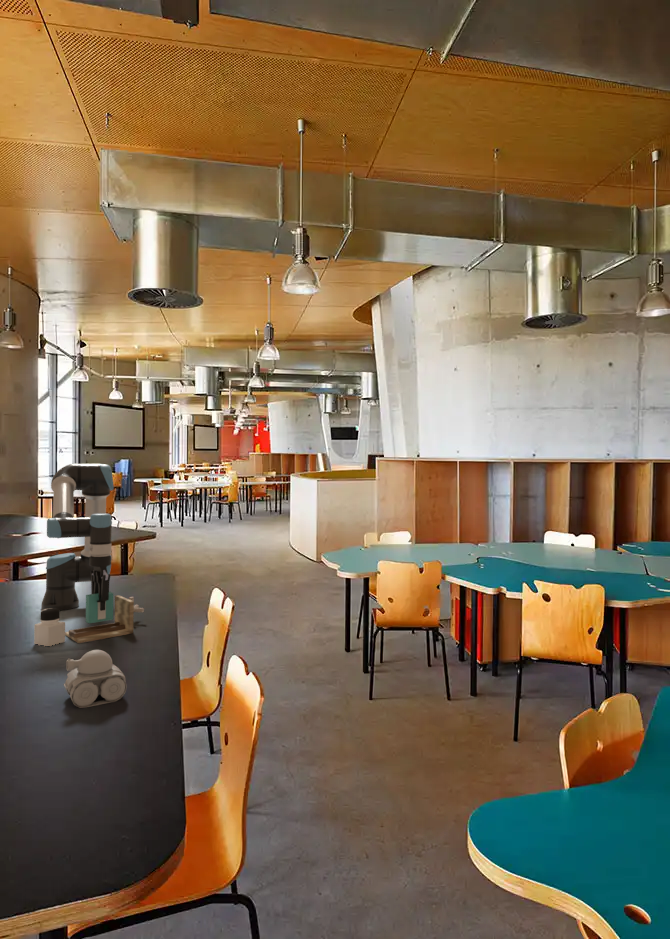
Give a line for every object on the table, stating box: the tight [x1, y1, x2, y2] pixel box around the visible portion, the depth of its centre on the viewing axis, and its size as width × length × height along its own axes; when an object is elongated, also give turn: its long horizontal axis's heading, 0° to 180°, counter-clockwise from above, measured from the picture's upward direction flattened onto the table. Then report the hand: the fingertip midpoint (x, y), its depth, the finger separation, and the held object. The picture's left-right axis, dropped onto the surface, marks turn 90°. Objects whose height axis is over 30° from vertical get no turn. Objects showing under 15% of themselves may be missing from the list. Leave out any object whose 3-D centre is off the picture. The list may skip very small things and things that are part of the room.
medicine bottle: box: [33, 608, 66, 647], centre depth 205 cm, size 7×7×12 cm
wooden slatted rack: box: [65, 594, 135, 644], centre depth 217 cm, size 14×20×12 cm
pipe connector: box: [128, 596, 145, 613], centre depth 234 cm, size 10×10×10 cm
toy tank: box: [63, 649, 128, 709], centre depth 156 cm, size 15×11×13 cm
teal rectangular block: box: [85, 591, 114, 624], centre depth 217 cm, size 3×9×10 cm, turn 133°
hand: (99, 617), depth 217 cm, fingers closed on teal rectangular block, 3 cm apart
